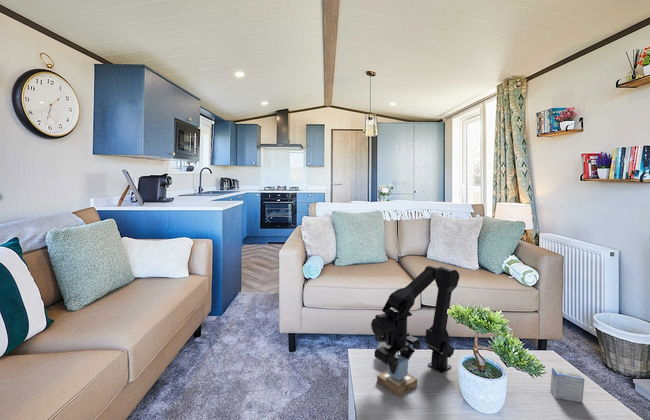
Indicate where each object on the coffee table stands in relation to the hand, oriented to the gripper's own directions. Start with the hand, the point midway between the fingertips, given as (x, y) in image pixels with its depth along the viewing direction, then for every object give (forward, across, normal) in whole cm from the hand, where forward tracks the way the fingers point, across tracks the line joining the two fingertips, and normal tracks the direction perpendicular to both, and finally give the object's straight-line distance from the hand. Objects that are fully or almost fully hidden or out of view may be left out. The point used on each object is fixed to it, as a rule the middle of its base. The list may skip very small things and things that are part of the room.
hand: (397, 370), depth 113 cm
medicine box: (+5, -41, +39) cm, 57 cm away
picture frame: (+5, 0, 0) cm, 5 cm away
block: (+1, 0, 0) cm, 1 cm away
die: (+5, -10, -13) cm, 17 cm away
